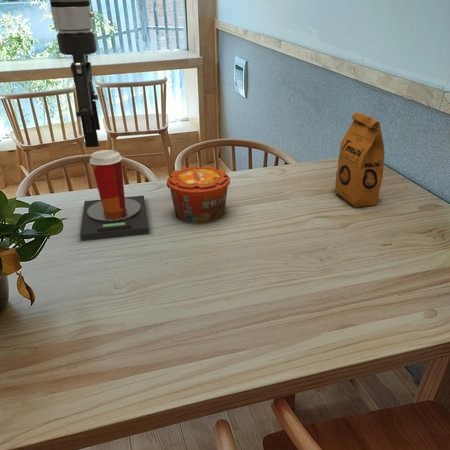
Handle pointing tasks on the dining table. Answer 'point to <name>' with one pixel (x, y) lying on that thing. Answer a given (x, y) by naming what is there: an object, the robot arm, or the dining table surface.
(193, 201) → the food container
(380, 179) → the coffee package
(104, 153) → the paper cup
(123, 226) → the scale
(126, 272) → the dining table surface
